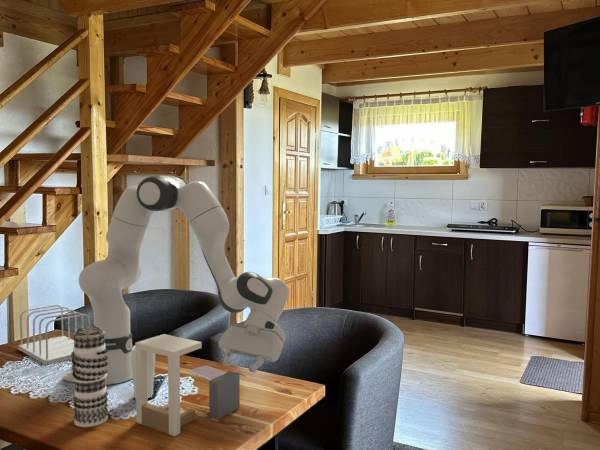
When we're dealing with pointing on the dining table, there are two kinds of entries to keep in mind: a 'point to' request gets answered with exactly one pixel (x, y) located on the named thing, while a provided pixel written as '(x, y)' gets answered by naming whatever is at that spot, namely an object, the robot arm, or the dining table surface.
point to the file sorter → (52, 347)
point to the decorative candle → (89, 376)
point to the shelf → (170, 414)
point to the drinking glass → (149, 371)
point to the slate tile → (224, 394)
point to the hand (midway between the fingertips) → (238, 368)
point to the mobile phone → (207, 372)
